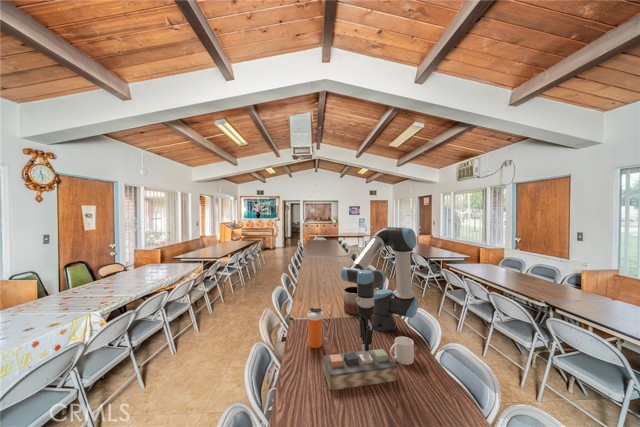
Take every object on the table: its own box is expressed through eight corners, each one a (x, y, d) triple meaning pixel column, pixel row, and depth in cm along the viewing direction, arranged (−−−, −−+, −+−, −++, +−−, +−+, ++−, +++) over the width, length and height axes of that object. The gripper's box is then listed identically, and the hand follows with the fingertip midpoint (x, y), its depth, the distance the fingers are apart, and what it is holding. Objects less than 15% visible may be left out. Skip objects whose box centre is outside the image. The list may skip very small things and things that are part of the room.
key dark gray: (354, 360, 115) (354, 352, 115) (358, 367, 110) (358, 358, 110) (344, 362, 114) (344, 353, 114) (347, 368, 109) (347, 359, 109)
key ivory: (368, 362, 117) (368, 353, 117) (373, 368, 112) (373, 359, 112) (358, 363, 116) (358, 354, 116) (362, 370, 111) (362, 361, 111)
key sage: (382, 357, 118) (382, 349, 118) (387, 363, 113) (387, 355, 113) (372, 358, 117) (372, 350, 117) (377, 365, 112) (377, 356, 112)
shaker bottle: (321, 350, 133) (321, 313, 133) (305, 348, 135) (305, 311, 135) (324, 341, 142) (324, 306, 142) (309, 340, 144) (309, 305, 144)
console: (382, 361, 123) (382, 348, 123) (396, 380, 109) (396, 365, 109) (323, 369, 117) (323, 355, 117) (330, 390, 103) (329, 374, 103)
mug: (409, 354, 129) (409, 336, 129) (416, 364, 120) (416, 345, 120) (386, 354, 129) (386, 336, 129) (392, 365, 120) (392, 346, 120)
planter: (341, 307, 194) (341, 286, 194) (363, 305, 196) (363, 286, 196) (346, 316, 176) (346, 294, 176) (371, 315, 178) (370, 293, 178)
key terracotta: (340, 362, 114) (340, 354, 114) (343, 369, 109) (343, 360, 109) (329, 364, 113) (329, 355, 113) (332, 370, 108) (332, 361, 108)
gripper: (353, 300, 119) (353, 349, 119) (362, 311, 106) (363, 366, 107) (367, 299, 121) (368, 347, 121) (379, 309, 108) (379, 364, 108)
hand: (365, 356), depth 114 cm, fingers closed
